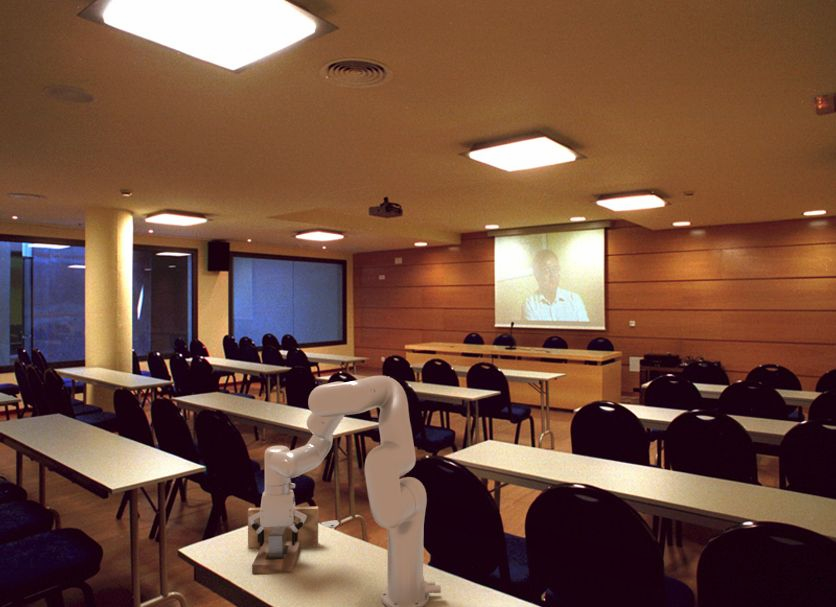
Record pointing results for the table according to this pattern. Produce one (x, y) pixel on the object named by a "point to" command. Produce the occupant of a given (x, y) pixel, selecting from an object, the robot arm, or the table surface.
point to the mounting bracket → (330, 523)
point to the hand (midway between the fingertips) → (278, 544)
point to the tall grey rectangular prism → (277, 543)
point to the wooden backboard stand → (305, 538)
